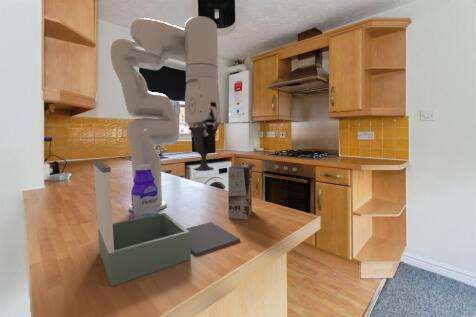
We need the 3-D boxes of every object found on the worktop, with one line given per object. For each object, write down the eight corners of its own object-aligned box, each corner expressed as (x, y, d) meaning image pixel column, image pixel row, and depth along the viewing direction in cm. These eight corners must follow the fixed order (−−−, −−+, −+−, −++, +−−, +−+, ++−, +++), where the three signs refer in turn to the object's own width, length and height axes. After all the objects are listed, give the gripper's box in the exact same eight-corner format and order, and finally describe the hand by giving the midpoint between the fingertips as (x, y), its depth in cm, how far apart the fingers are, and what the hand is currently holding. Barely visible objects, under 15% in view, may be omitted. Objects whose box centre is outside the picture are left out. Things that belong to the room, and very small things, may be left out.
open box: (98, 252, 53) (92, 159, 51) (165, 235, 62) (162, 155, 60) (109, 287, 41) (102, 167, 39) (190, 259, 50) (188, 161, 48)
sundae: (191, 167, 62) (189, 109, 60) (217, 167, 62) (216, 109, 61) (188, 171, 55) (186, 106, 54) (217, 171, 56) (216, 106, 54)
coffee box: (248, 219, 73) (248, 167, 71) (227, 218, 74) (227, 167, 73) (252, 210, 82) (252, 164, 80) (234, 209, 83) (233, 163, 81)
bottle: (141, 228, 66) (138, 167, 64) (129, 224, 69) (126, 165, 67) (162, 220, 72) (160, 164, 71) (150, 217, 75) (147, 162, 74)
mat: (171, 234, 63) (171, 232, 63) (211, 223, 70) (211, 221, 70) (196, 256, 51) (195, 253, 51) (240, 241, 59) (240, 238, 59)
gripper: (173, 80, 61) (175, 151, 63) (205, 65, 47) (207, 156, 49) (199, 84, 65) (200, 150, 67) (235, 70, 52) (236, 154, 54)
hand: (203, 151), depth 58 cm, fingers closed on sundae, 4 cm apart
